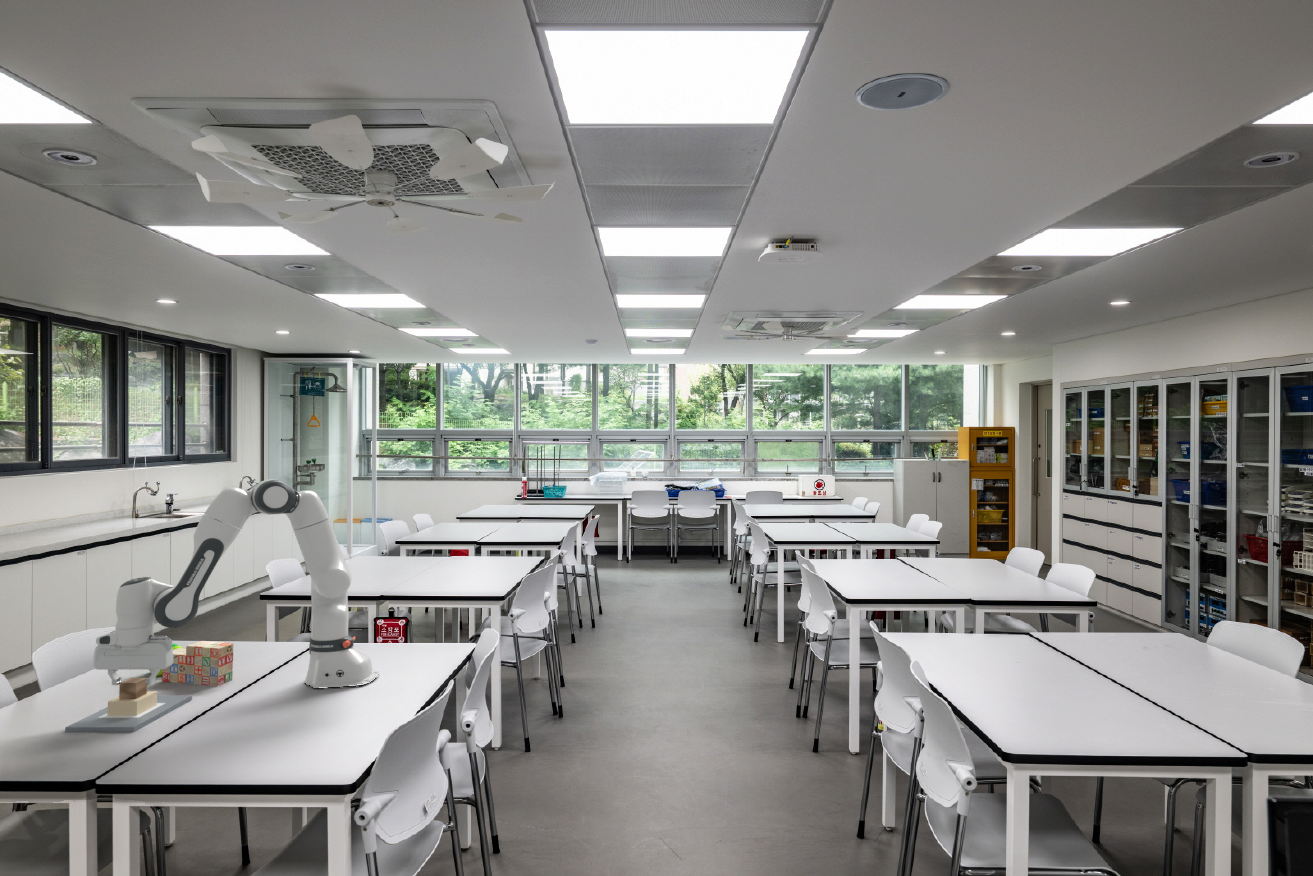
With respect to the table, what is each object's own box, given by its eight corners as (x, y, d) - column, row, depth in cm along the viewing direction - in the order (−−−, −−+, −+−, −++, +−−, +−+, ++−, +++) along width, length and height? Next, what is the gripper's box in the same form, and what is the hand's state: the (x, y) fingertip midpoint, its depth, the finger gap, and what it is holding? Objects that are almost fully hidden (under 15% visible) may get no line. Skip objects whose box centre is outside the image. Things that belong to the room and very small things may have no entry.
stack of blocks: (160, 682, 223) (161, 644, 224) (177, 675, 229) (178, 638, 230) (217, 686, 219) (218, 647, 220) (233, 680, 226) (234, 642, 226)
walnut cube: (146, 693, 197) (147, 677, 197) (135, 699, 193) (136, 683, 193) (130, 693, 197) (131, 678, 197) (119, 699, 193) (119, 683, 193)
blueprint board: (191, 699, 207) (192, 682, 207) (134, 731, 183) (134, 712, 183) (131, 699, 207) (131, 682, 207) (65, 732, 183) (65, 712, 183)
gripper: (179, 632, 199) (178, 680, 199) (107, 632, 198) (105, 680, 198) (164, 638, 193) (163, 688, 192) (89, 638, 192) (88, 688, 192)
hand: (133, 684), depth 195 cm, fingers open, 8 cm apart
